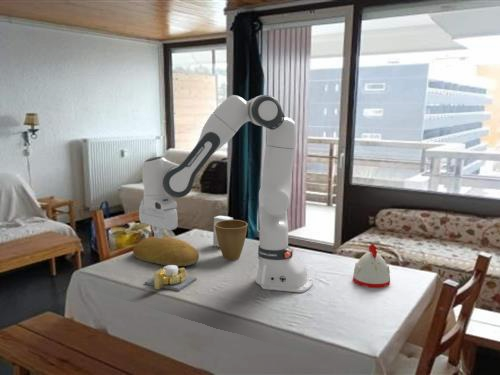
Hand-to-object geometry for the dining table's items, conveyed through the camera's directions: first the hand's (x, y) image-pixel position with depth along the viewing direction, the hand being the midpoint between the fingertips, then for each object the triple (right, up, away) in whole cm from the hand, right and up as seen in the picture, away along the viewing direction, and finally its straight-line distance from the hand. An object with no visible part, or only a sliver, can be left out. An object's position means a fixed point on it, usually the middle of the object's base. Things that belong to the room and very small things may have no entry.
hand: (158, 237), depth 158 cm
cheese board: (+2, -17, +6) cm, 18 cm away
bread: (-4, -14, +36) cm, 39 cm away
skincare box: (+21, -11, +55) cm, 59 cm away
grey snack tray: (+3, -18, +8) cm, 20 cm away
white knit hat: (+82, -18, +9) cm, 84 cm away
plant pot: (+26, -14, +37) cm, 47 cm away
